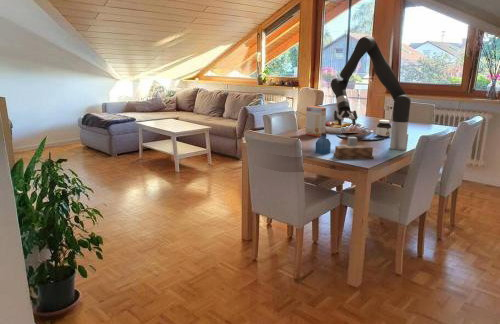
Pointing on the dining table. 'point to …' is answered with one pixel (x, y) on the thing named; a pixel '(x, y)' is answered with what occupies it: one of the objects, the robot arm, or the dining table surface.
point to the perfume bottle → (323, 145)
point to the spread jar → (383, 128)
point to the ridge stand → (353, 152)
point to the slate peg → (352, 141)
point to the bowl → (335, 127)
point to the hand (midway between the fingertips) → (347, 125)
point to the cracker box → (315, 120)
